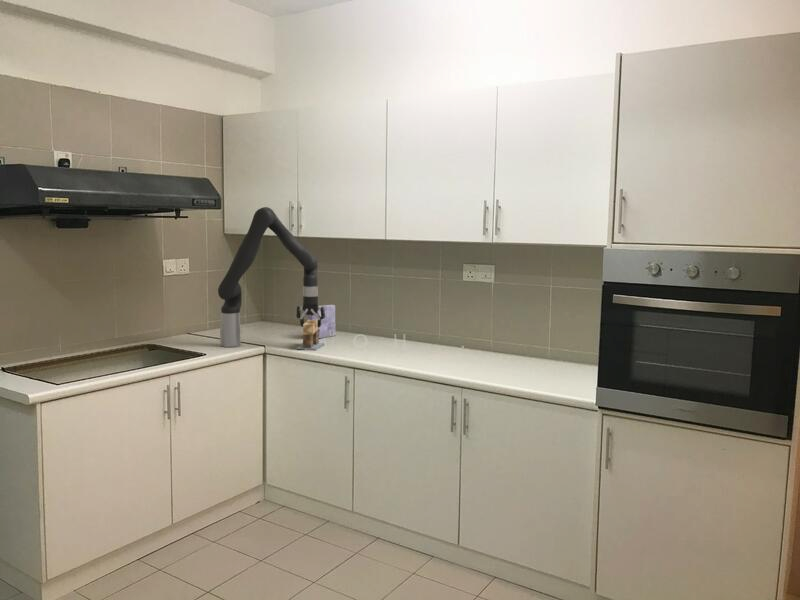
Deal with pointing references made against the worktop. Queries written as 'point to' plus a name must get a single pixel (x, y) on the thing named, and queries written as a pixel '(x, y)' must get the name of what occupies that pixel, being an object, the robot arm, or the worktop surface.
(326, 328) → the cake pan box
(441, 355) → the worktop surface
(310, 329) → the oak crossbeam
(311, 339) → the posts
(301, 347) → the blueprint plate
